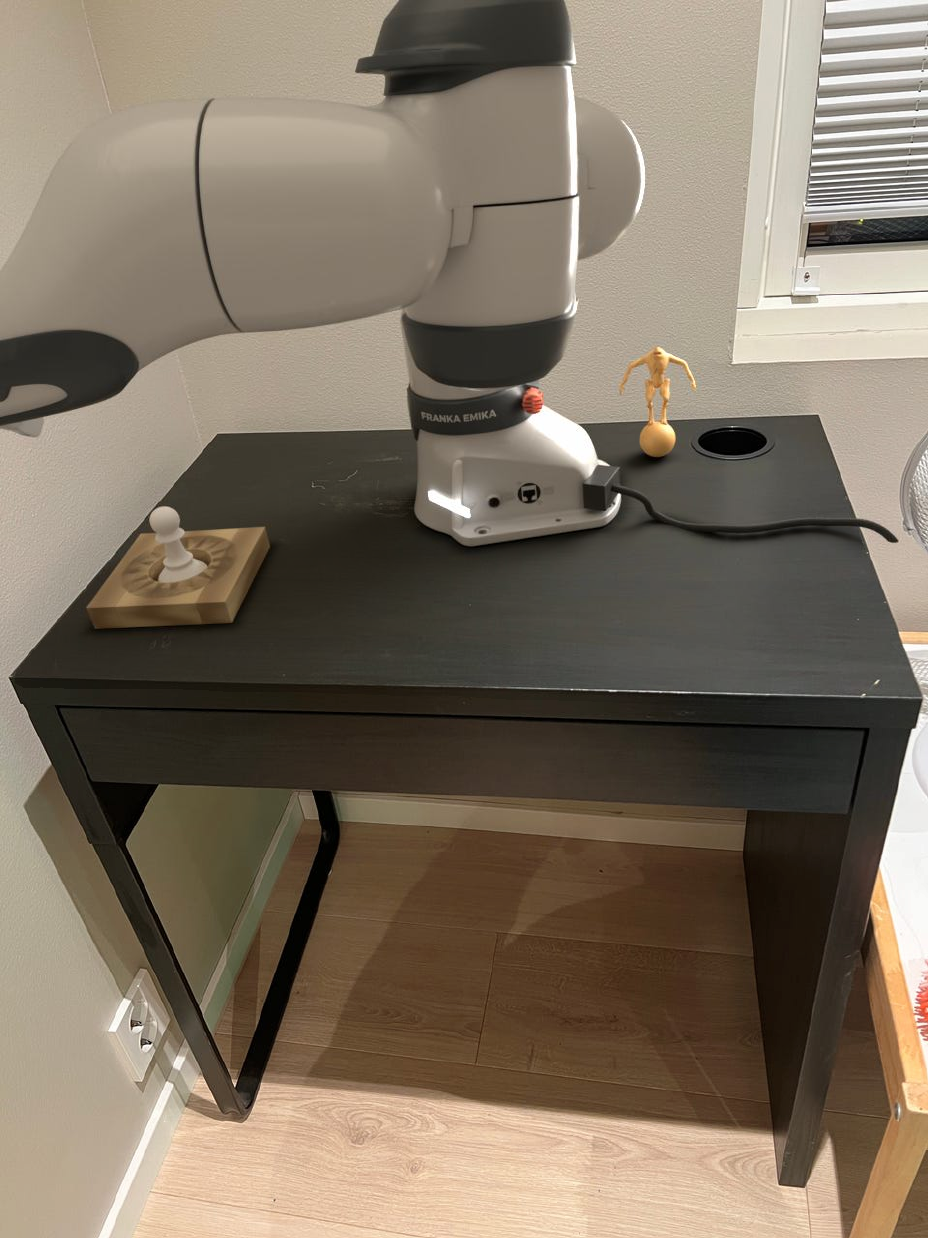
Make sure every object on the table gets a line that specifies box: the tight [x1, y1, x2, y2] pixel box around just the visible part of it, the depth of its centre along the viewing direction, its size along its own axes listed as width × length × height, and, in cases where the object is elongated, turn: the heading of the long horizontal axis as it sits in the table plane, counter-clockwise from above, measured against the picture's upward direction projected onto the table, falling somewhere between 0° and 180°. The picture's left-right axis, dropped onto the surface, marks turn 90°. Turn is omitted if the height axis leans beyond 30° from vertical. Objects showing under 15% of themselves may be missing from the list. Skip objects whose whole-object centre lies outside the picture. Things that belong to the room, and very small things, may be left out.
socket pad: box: [85, 526, 271, 630], centre depth 94 cm, size 14×14×2 cm
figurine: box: [619, 346, 697, 458], centre depth 103 cm, size 8×6×12 cm
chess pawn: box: [148, 505, 207, 583], centre depth 92 cm, size 5×5×9 cm
